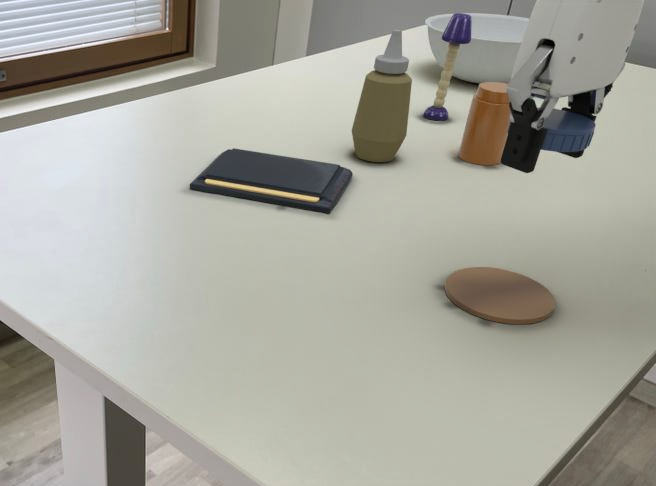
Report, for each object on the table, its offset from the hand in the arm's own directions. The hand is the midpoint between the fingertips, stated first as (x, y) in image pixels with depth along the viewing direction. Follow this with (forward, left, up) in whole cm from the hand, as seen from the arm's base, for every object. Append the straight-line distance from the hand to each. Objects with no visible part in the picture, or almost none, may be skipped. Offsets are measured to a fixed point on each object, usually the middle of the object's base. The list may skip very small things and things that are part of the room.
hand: (541, 159), depth 68 cm
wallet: (+37, -3, -15) cm, 40 cm away
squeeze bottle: (+35, -23, -15) cm, 45 cm away
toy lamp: (+41, -48, -15) cm, 65 cm away
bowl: (+51, -78, -15) cm, 95 cm away
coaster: (0, 0, -15) cm, 15 cm away
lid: (0, 0, +3) cm, 3 cm away
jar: (+25, -36, -15) cm, 46 cm away
